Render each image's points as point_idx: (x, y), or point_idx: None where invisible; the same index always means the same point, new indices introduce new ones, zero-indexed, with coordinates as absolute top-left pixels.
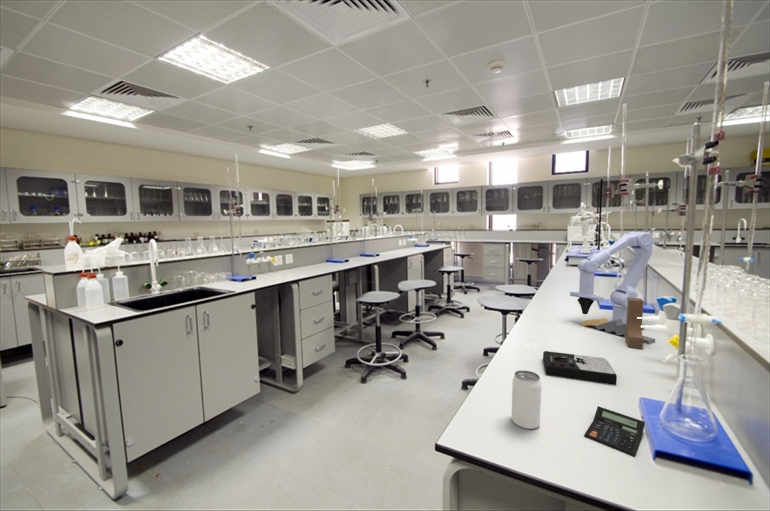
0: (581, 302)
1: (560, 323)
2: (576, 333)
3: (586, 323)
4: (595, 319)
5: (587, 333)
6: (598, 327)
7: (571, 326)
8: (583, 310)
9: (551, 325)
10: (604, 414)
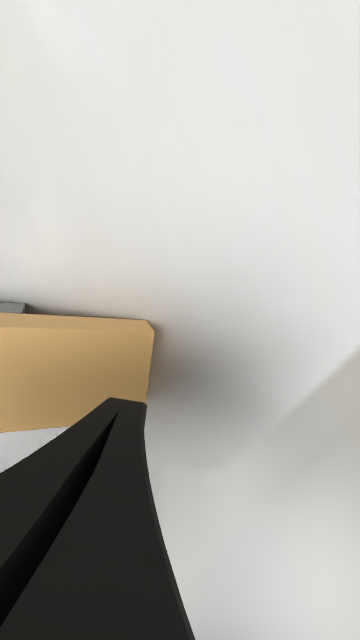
0: (48, 629)
1: (310, 244)
2: (67, 25)
3: (104, 323)
4: (37, 400)
5: (15, 129)
6: (2, 307)
7: (201, 232)
8: (112, 426)
9: (356, 87)
10: None
